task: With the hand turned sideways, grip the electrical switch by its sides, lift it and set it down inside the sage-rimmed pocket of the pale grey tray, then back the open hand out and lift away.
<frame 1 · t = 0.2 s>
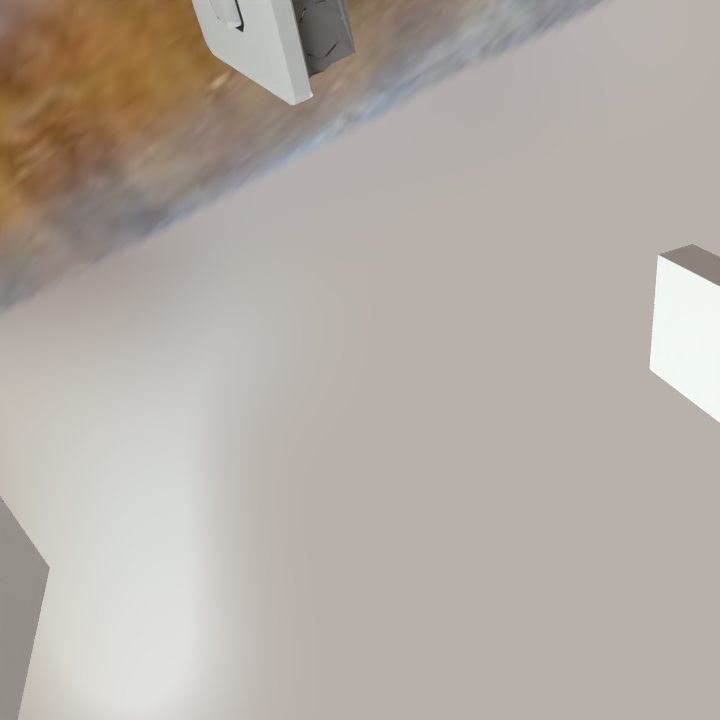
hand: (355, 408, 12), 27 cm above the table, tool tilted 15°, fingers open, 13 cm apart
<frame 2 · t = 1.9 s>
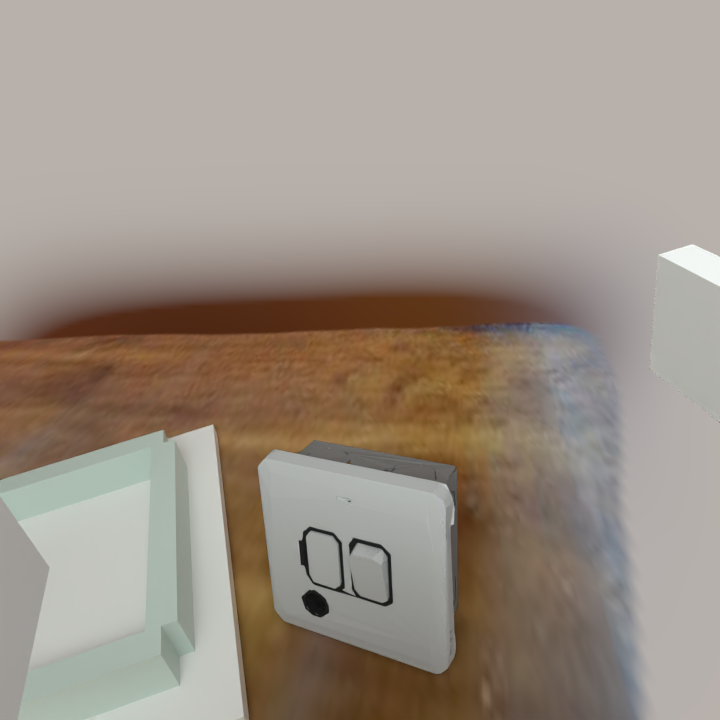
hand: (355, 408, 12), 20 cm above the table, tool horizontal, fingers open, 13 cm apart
electrical switch: (376, 603, 32), on the table
pocket tray: (40, 608, 35), on the table
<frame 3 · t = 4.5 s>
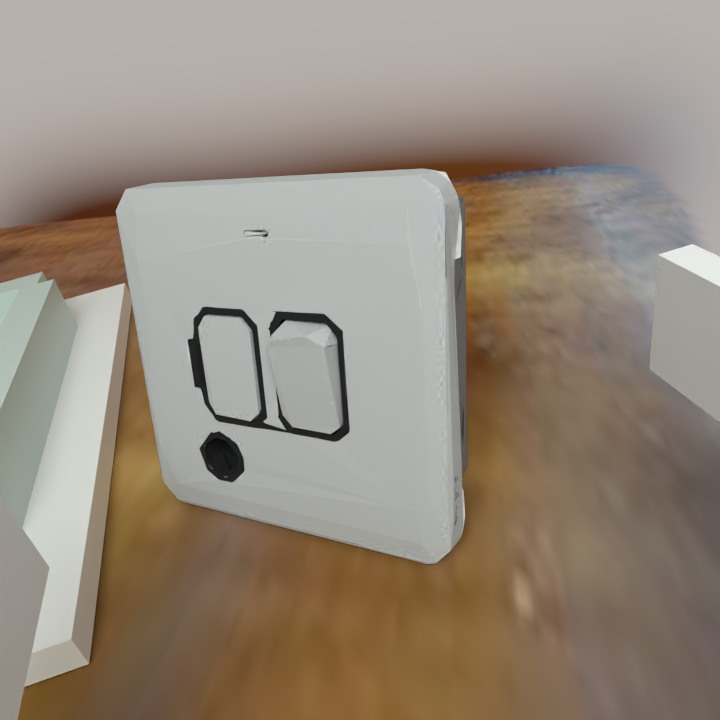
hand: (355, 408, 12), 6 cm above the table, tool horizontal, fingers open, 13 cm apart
electrical switch: (332, 474, 19), on the table
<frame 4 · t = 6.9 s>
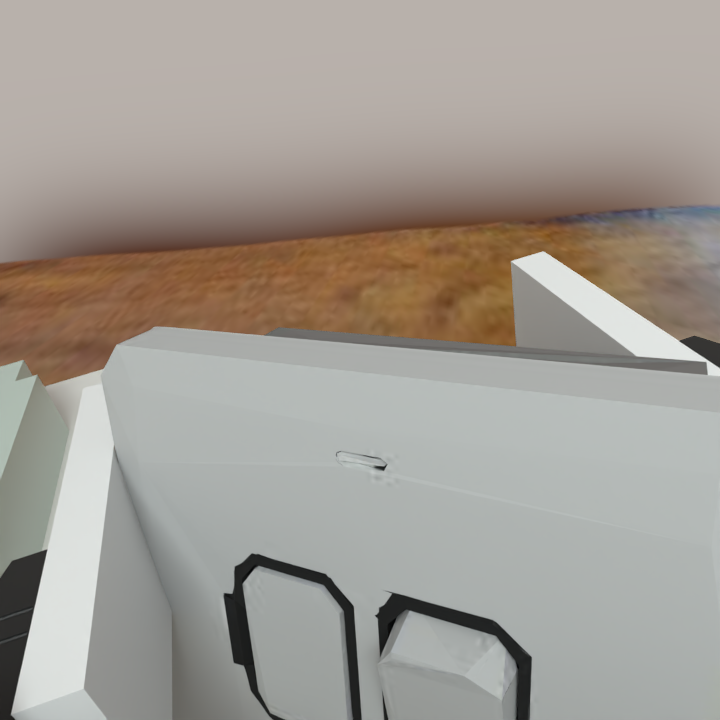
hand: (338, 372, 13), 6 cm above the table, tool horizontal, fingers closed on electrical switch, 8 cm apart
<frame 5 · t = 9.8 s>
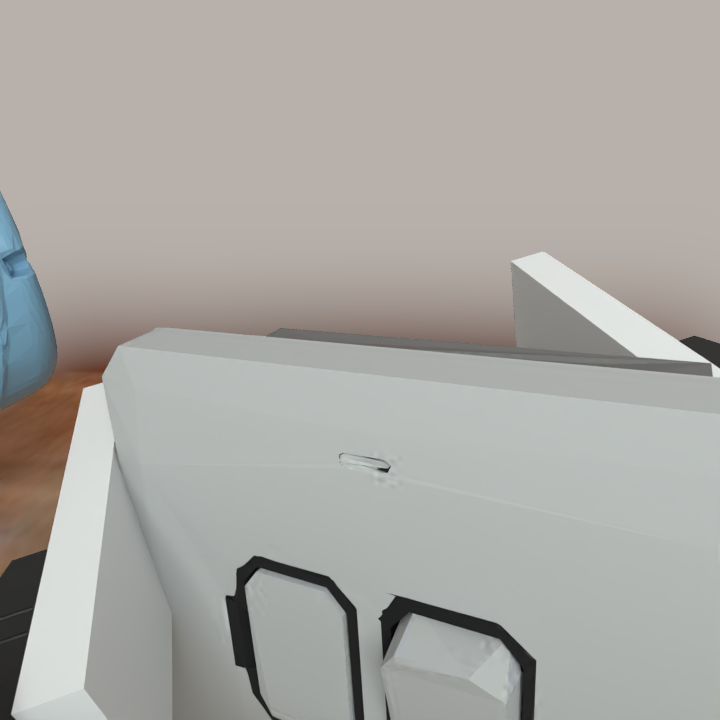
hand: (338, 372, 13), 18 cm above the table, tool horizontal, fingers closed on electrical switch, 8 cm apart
when the fingers open (8 cm above the table, at t = 12.8 s): electrical switch drops 1 cm, resting on pocket tray.
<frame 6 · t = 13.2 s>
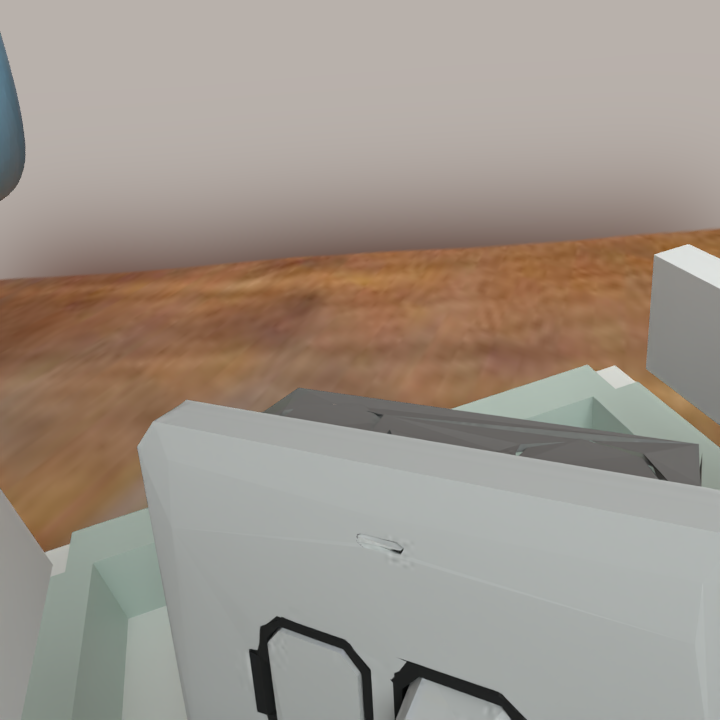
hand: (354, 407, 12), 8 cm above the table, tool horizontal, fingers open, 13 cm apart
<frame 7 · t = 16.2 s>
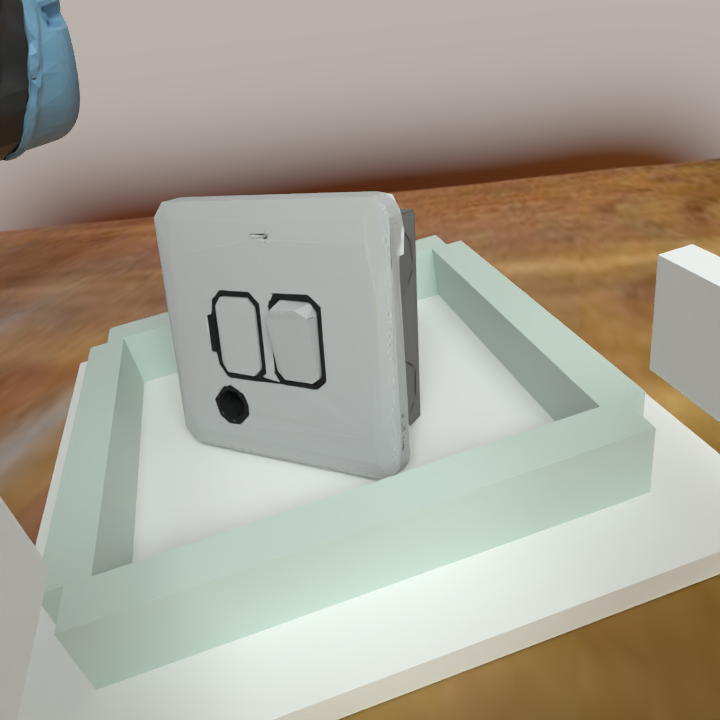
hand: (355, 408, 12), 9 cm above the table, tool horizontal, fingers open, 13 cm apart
electrical switch: (317, 422, 25), point 1 cm above the table, touching pocket tray
pocket tray: (331, 436, 25), on the table
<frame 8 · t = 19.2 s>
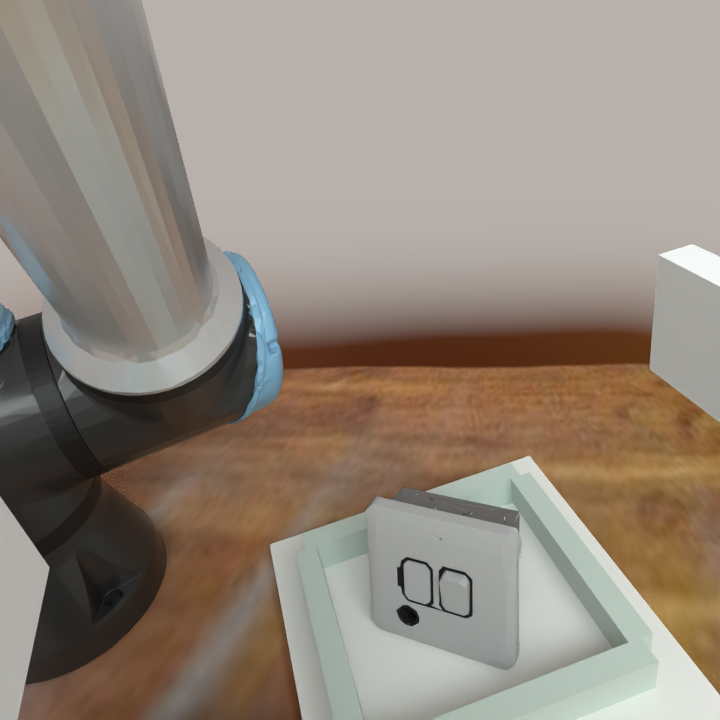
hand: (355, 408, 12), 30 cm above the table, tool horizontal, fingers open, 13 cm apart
electrical switch: (451, 615, 40), point 1 cm above the table, touching pocket tray
pocket tray: (458, 621, 41), on the table
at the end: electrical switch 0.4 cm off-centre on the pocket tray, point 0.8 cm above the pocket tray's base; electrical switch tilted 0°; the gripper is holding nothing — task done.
